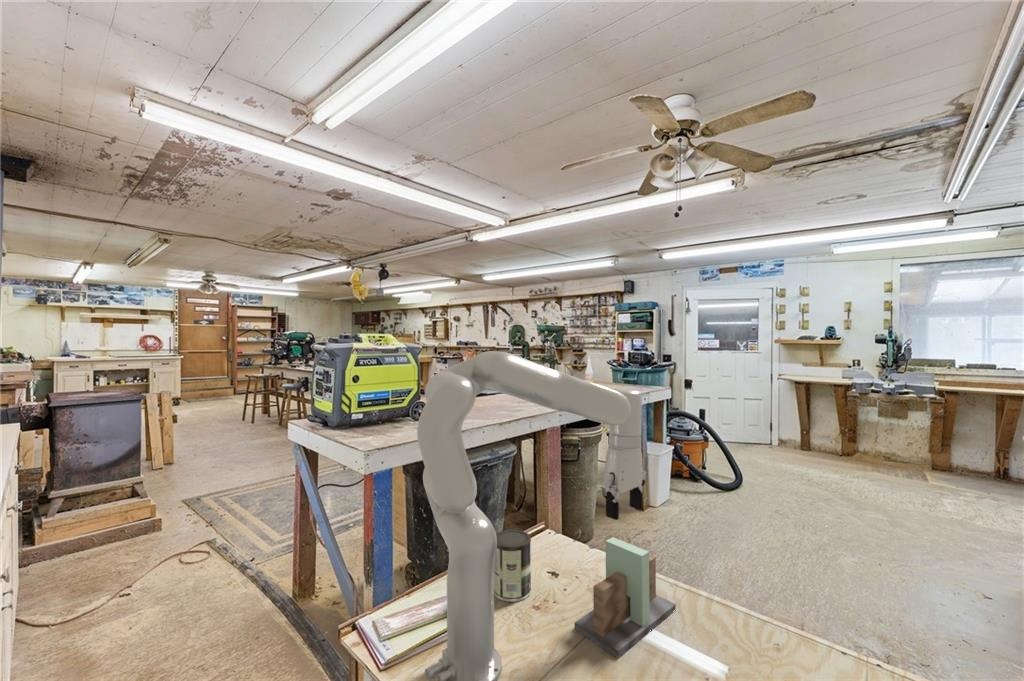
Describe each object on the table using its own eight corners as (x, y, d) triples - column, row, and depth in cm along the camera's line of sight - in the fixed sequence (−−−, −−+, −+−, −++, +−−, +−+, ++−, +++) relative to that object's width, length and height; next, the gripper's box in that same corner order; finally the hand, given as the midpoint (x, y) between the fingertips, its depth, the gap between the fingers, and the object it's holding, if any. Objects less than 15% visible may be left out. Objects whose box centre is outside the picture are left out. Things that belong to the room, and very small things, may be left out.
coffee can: (520, 576, 118) (520, 526, 118) (538, 596, 109) (537, 541, 109) (487, 585, 114) (486, 533, 114) (501, 606, 105) (501, 550, 105)
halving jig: (618, 658, 87) (618, 603, 87) (574, 628, 96) (574, 578, 96) (675, 610, 103) (675, 563, 103) (633, 588, 112) (632, 545, 112)
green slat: (642, 626, 95) (642, 556, 95) (606, 606, 102) (605, 540, 102) (649, 621, 97) (649, 551, 97) (613, 601, 104) (612, 537, 104)
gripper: (631, 434, 108) (631, 500, 108) (589, 443, 97) (589, 517, 97) (658, 439, 103) (657, 508, 102) (617, 449, 91) (616, 527, 91)
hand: (624, 512), depth 100 cm, fingers open, 9 cm apart
